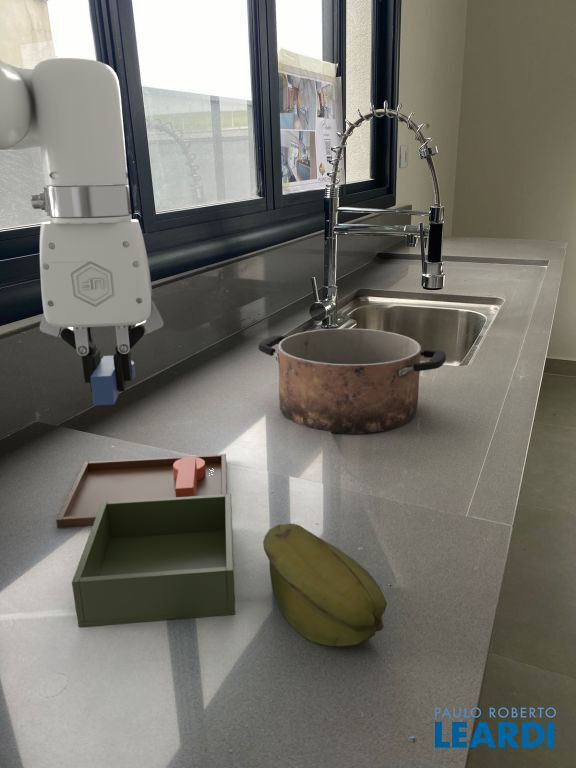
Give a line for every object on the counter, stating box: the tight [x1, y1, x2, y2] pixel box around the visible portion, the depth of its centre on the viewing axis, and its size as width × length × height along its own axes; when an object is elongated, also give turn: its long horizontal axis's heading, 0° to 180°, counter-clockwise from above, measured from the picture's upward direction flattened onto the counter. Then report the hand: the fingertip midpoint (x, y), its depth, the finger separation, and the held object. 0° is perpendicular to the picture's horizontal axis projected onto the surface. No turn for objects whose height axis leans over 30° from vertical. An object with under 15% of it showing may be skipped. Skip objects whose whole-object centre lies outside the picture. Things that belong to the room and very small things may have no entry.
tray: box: [55, 453, 228, 529], centre depth 72 cm, size 18×14×1 cm
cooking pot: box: [257, 327, 447, 435], centre depth 97 cm, size 30×22×11 cm
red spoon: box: [173, 457, 206, 497], centre depth 72 cm, size 4×11×3 cm, turn 6°
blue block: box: [90, 355, 136, 406], centre depth 65 cm, size 4×11×3 cm, turn 7°
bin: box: [71, 493, 236, 628], centre depth 57 cm, size 13×13×4 cm
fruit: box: [262, 523, 388, 647], centre depth 51 cm, size 11×12×7 cm
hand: (110, 386), depth 64 cm, fingers closed on blue block, 2 cm apart
